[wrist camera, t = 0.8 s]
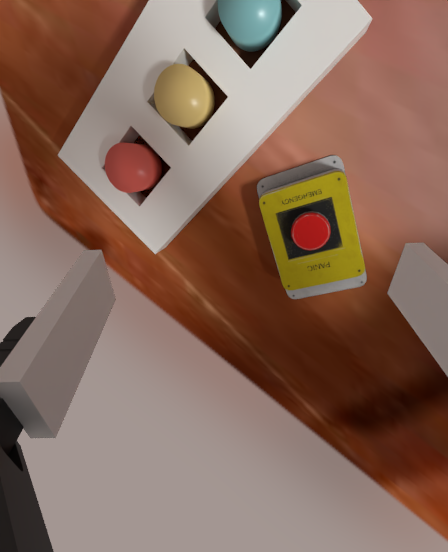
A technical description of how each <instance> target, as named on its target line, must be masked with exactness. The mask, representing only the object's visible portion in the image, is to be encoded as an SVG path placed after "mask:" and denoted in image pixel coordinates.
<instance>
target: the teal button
mask: <svg viewBox="0 0 448 552" xmlns="http://www.w3.org/2000/svg"><path fill="white" fill-rule="evenodd" d="M218 12H219V17H220V20H221V22H222V24H223V26H224V28H225V29H226V31H227V32H228V34H229V36H230V37H231V39H232V40H233V42H234V43H235V44H236V45H237V46H238V47H239V48H240V49H242V50H245V51H249V52H254V51H259V50H261V49H263V48H265V47H266V46H268V45H269V44H270V43H271V42H272V41H273V39H274V38H275V37H276V35H277V33H278V31H279V28H280V25H281V20H282V7H281V1H280V0H218Z"/></svg>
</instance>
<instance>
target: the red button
mask: <svg viewBox="0 0 448 552" xmlns="http://www.w3.org/2000/svg"><path fill="white" fill-rule="evenodd" d="M105 171H106V175H107V177H108V179H109V181H110V182H111V184H112V185H113V186H114V187H115V188H117V189H118V190H120V191H122V192H125V193H133V192H138V191H143V190H148V189H151V188H153V187H154V186H156V185H157V183H158V182H159V180H160V178H161V175H162V164H161V160H160V158H159V156H158V154H157V153H156V152H155V151H154V150H153V149H152V148H151V147H149V146H147V145H144V144H136V143H117V144H115V145H114V146H112V147H111V148H110V149H109V151H108V152H107V155H106V158H105Z"/></svg>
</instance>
